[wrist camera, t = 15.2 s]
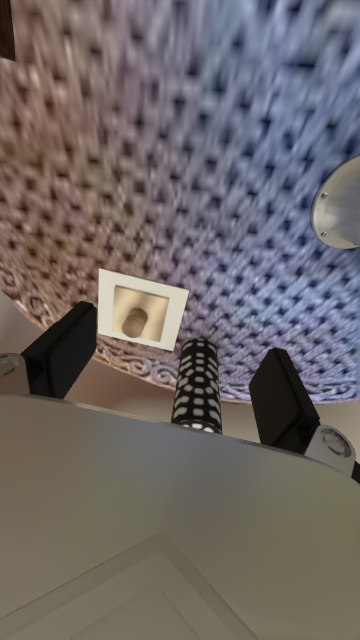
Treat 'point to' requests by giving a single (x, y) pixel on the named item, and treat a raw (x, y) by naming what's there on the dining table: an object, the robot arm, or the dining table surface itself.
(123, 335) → the white flat block
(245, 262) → the dining table surface
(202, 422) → the spotted tube
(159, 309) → the wooden lid
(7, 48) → the pepper mill
